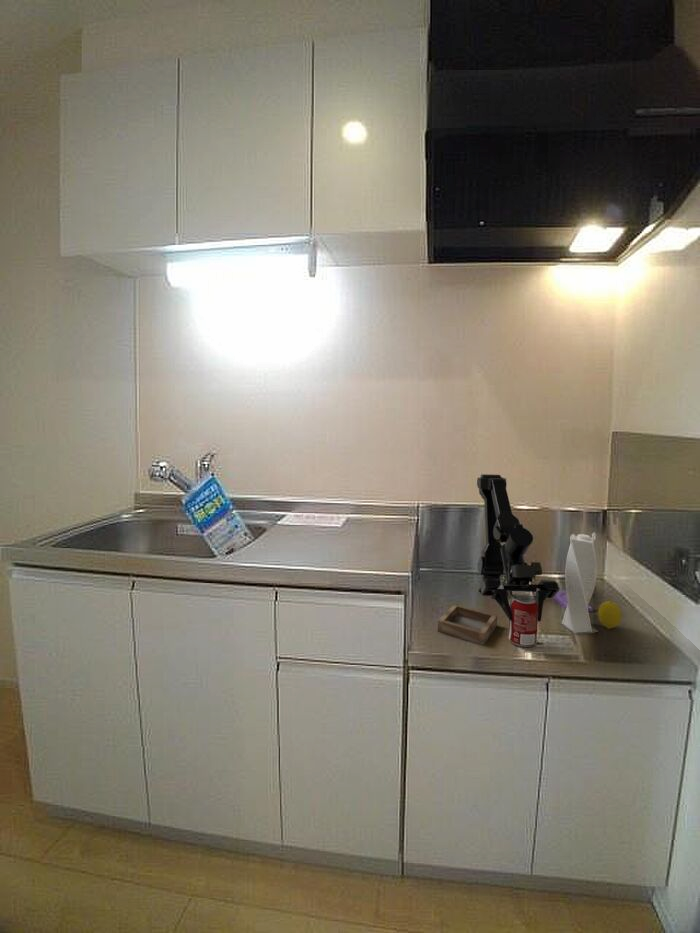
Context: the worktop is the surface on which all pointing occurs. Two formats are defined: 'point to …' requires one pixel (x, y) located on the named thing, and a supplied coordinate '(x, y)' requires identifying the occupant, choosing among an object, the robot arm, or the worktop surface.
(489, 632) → the wooden square tray
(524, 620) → the soda can
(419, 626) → the worktop surface
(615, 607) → the lemon
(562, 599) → the sponges
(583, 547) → the skyscraper
